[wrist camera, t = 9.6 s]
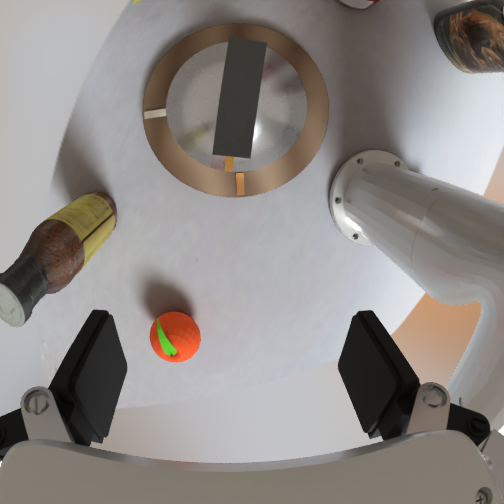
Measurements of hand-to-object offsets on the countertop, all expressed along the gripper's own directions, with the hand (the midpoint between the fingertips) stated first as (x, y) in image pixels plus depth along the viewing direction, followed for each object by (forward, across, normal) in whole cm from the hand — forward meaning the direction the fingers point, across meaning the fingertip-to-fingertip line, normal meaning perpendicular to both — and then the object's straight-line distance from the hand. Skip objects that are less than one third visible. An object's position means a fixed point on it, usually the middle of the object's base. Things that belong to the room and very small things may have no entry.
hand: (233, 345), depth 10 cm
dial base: (+24, 0, -11) cm, 26 cm away
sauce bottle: (+24, +17, +2) cm, 29 cm away
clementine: (+24, +7, +17) cm, 31 cm away
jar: (+24, -34, -30) cm, 51 cm away
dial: (+22, 0, -11) cm, 24 cm away
